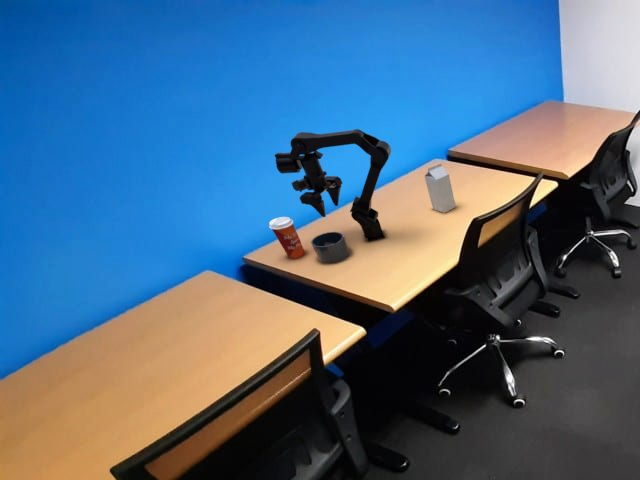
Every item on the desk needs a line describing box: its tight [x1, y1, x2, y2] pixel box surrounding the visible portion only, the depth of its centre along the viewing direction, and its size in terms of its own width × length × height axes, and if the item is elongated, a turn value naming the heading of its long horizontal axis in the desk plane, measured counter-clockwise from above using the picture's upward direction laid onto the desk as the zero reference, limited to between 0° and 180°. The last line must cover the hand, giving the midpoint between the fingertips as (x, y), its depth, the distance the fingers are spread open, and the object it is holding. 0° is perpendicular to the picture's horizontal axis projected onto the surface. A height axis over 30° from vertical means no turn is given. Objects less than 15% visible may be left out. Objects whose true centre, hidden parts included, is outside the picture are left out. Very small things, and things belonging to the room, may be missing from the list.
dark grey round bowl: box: [310, 231, 351, 264], centre depth 173 cm, size 11×11×7 cm
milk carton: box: [424, 162, 457, 214], centre depth 199 cm, size 7×7×19 cm
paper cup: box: [268, 216, 306, 259], centre depth 172 cm, size 8×8×14 cm
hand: (330, 211), depth 177 cm, fingers open, 9 cm apart
